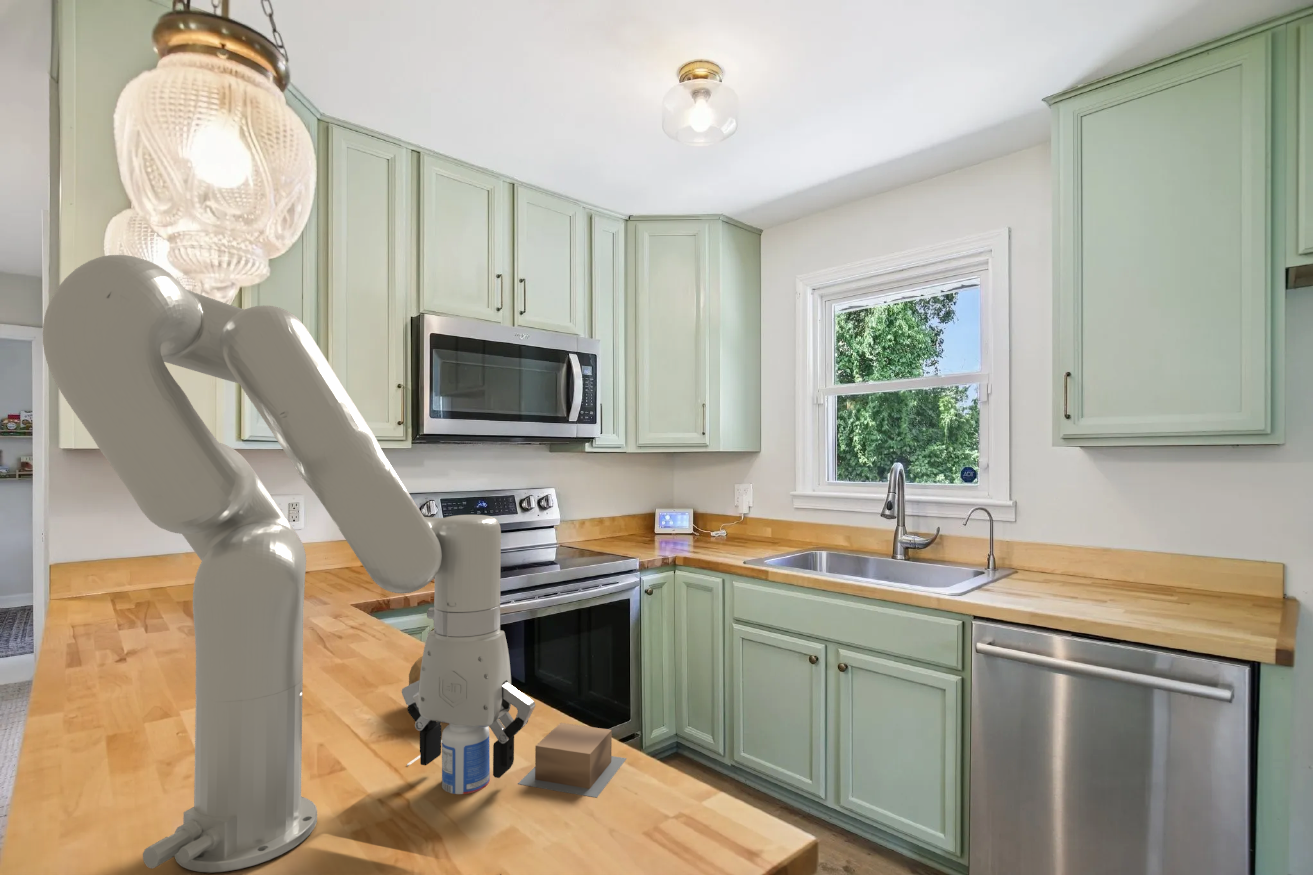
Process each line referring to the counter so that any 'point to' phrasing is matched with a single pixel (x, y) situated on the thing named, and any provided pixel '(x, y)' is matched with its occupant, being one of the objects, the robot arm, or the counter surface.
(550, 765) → the brown square block
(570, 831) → the counter surface
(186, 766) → the counter surface
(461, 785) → the pill bottle
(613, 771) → the baseplate
